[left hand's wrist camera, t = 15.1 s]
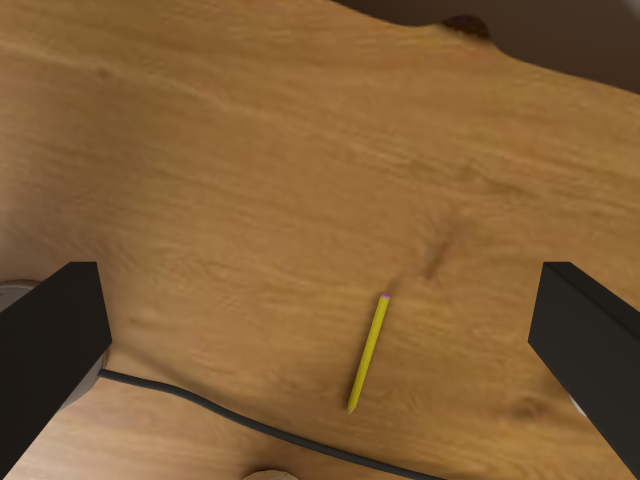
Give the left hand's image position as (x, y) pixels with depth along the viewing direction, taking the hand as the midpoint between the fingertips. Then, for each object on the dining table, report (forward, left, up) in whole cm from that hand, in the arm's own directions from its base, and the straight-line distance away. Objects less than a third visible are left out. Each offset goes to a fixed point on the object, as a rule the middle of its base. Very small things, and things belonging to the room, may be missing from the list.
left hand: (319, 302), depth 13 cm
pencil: (-14, +19, -30) cm, 38 cm away
